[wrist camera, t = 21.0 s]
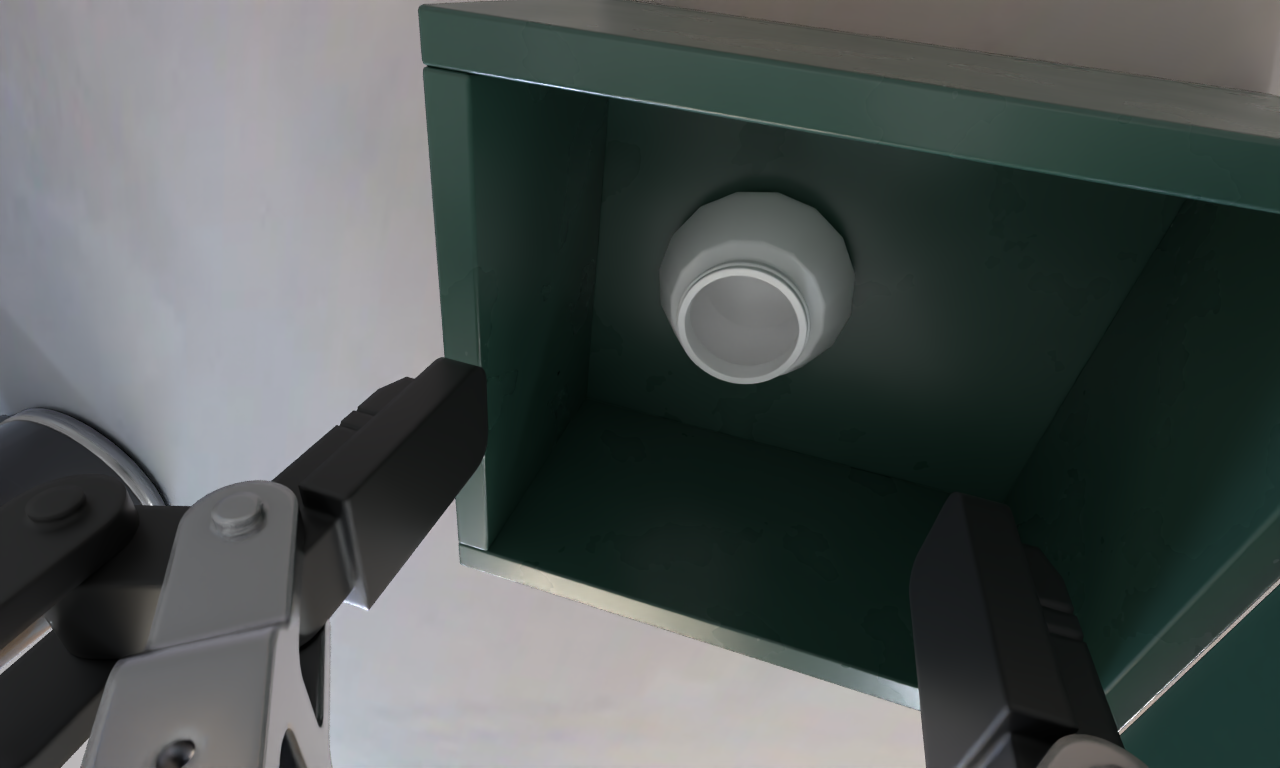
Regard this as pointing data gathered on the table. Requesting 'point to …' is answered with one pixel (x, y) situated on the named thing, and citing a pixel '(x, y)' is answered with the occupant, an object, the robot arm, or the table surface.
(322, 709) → the robot arm
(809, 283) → the white jar
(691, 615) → the waste bin
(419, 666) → the table surface
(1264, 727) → the bin lid
